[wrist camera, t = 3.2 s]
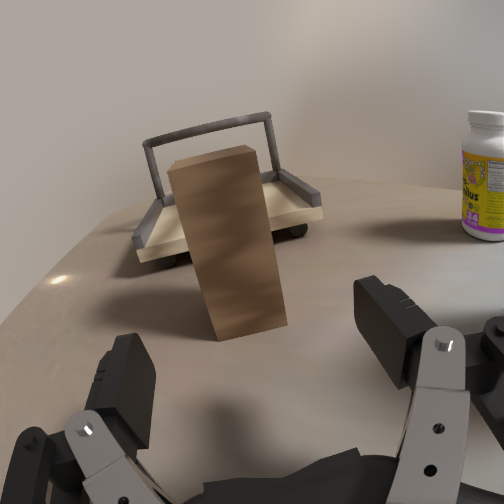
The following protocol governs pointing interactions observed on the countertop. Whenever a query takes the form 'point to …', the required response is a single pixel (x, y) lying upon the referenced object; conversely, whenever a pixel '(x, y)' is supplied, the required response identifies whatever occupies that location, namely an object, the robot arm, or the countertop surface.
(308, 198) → the cart
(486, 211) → the supplement bottle
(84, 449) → the robot arm
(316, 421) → the countertop surface
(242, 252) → the walnut block
